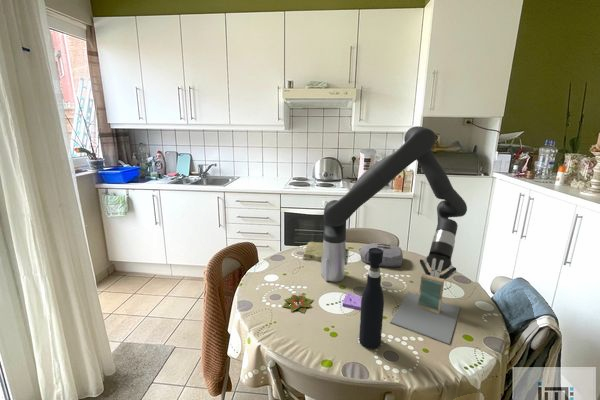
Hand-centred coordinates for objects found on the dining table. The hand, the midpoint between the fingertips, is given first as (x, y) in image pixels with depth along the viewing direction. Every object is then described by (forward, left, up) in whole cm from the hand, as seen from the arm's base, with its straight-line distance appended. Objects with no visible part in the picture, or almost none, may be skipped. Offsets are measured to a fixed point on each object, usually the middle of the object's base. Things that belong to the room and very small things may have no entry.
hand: (432, 288), depth 107 cm
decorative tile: (-21, +52, -8) cm, 57 cm away
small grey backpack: (+2, +38, -8) cm, 39 cm away
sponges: (-23, +8, -8) cm, 26 cm away
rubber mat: (-5, -4, -7) cm, 9 cm away
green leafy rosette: (-45, +15, -8) cm, 48 cm away
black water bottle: (-29, -10, -7) cm, 32 cm away
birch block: (-1, -1, -7) cm, 7 cm away
